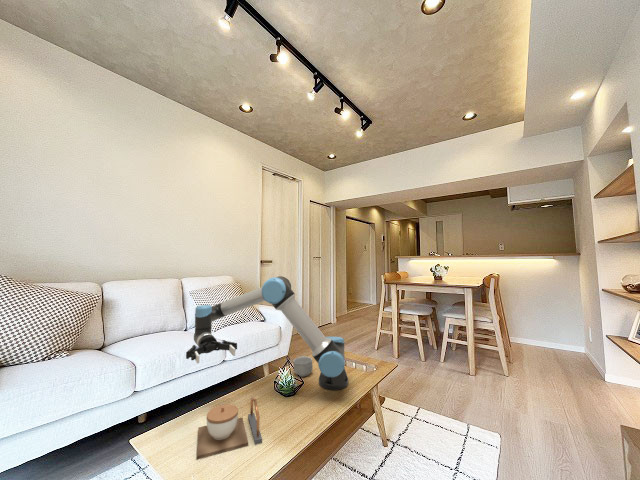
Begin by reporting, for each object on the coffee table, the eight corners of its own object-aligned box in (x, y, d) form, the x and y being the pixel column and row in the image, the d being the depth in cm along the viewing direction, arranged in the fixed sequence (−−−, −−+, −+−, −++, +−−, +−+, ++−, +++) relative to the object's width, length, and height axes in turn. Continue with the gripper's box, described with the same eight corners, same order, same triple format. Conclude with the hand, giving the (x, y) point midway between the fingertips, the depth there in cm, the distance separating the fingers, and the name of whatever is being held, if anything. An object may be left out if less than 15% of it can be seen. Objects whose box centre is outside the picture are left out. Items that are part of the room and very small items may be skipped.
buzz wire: (252, 414, 107) (253, 389, 107) (259, 436, 93) (259, 408, 94) (250, 414, 106) (250, 390, 107) (256, 437, 93) (257, 409, 93)
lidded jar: (229, 421, 103) (229, 396, 104) (243, 434, 95) (243, 407, 96) (201, 434, 95) (201, 407, 96) (213, 449, 88) (214, 419, 88)
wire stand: (254, 416, 108) (254, 413, 108) (262, 442, 92) (262, 438, 92) (248, 418, 107) (248, 414, 107) (255, 444, 91) (255, 440, 91)
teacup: (309, 379, 141) (309, 363, 142) (290, 377, 144) (290, 362, 144) (315, 369, 155) (315, 354, 156) (297, 367, 157) (297, 353, 158)
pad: (242, 420, 106) (242, 417, 106) (248, 445, 91) (248, 442, 91) (198, 430, 99) (198, 427, 99) (196, 459, 85) (196, 456, 85)
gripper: (234, 345, 129) (247, 358, 112) (176, 356, 116) (181, 373, 98) (234, 330, 130) (247, 340, 112) (176, 339, 116) (181, 352, 99)
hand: (217, 355), depth 105 cm, fingers open, 13 cm apart
